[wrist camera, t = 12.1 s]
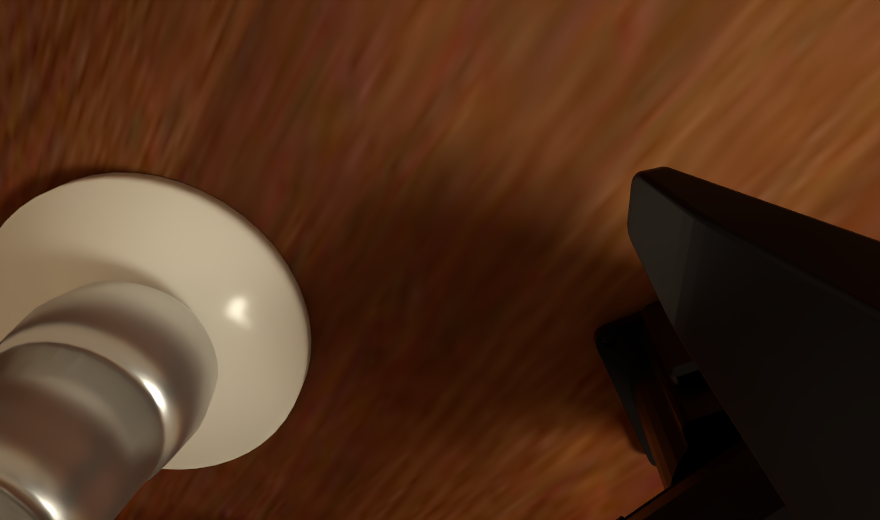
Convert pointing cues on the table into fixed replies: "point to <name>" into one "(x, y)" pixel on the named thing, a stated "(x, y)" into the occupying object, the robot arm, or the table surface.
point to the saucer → (173, 289)
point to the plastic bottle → (98, 399)
